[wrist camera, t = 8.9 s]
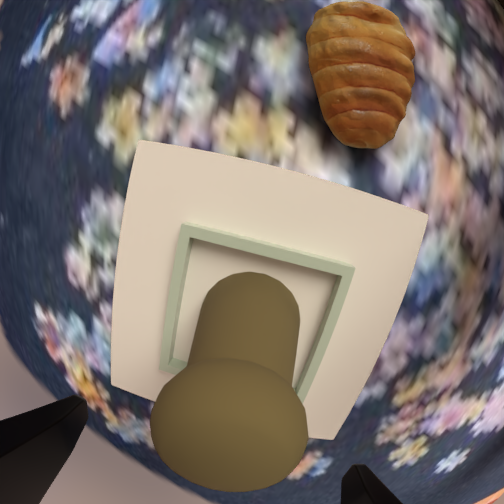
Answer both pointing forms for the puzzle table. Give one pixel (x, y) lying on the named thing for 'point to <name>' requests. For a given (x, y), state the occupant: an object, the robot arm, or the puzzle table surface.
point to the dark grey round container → (501, 3)
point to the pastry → (360, 71)
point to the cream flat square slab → (257, 268)
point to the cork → (236, 391)
